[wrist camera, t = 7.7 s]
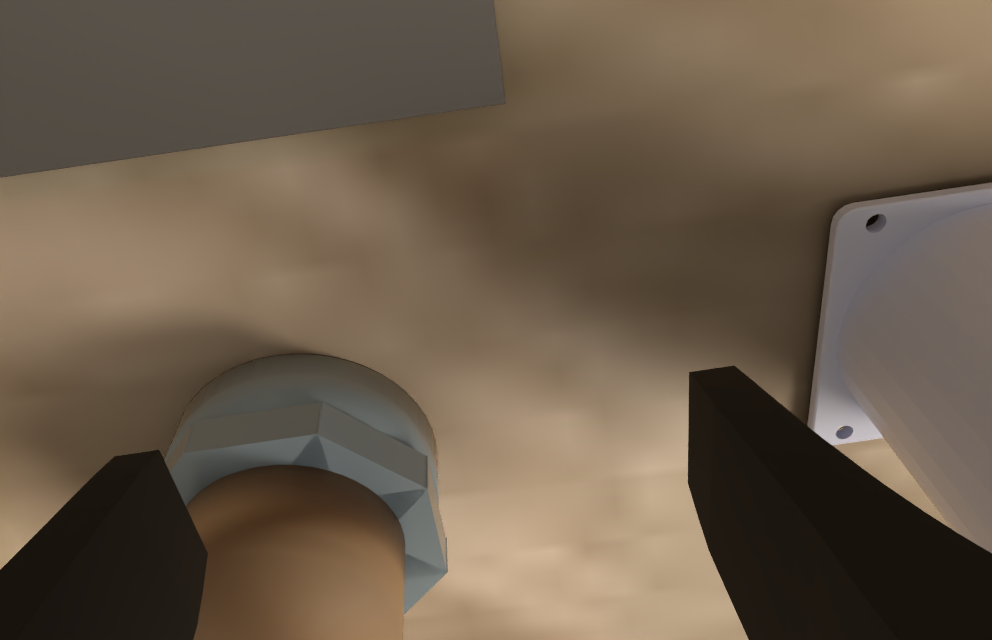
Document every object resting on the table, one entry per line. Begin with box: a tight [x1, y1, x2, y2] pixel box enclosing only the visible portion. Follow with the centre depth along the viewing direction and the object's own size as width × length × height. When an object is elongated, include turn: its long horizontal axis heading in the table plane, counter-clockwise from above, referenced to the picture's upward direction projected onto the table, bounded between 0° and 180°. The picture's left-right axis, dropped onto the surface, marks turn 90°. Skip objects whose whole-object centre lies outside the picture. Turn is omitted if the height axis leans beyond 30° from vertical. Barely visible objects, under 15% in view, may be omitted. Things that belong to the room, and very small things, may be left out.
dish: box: [164, 354, 448, 614], centre depth 22 cm, size 8×8×4 cm
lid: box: [186, 465, 405, 640], centre depth 19 cm, size 6×6×3 cm
